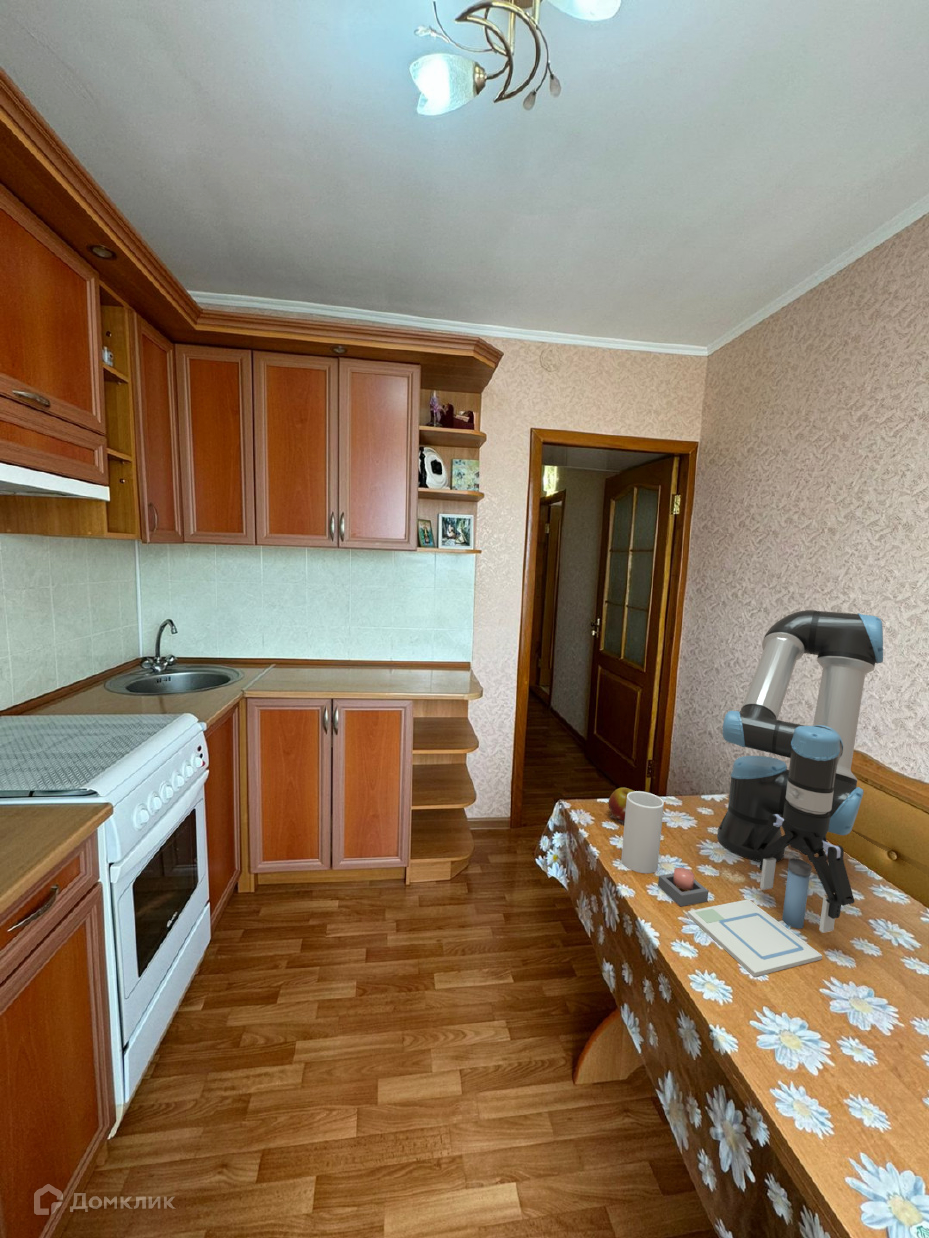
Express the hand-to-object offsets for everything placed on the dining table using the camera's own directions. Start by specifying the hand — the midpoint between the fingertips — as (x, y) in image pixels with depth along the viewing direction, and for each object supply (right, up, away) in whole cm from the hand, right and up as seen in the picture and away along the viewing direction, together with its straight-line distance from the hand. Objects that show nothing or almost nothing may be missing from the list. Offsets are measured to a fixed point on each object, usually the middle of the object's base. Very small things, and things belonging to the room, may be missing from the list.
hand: (794, 907), depth 101 cm
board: (-11, -3, -4) cm, 12 cm away
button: (-19, +1, +7) cm, 21 cm away
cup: (-25, 0, +18) cm, 31 cm away
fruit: (-22, +2, +40) cm, 46 cm away
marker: (0, -3, 0) cm, 3 cm away
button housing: (-19, -1, +8) cm, 21 cm away
